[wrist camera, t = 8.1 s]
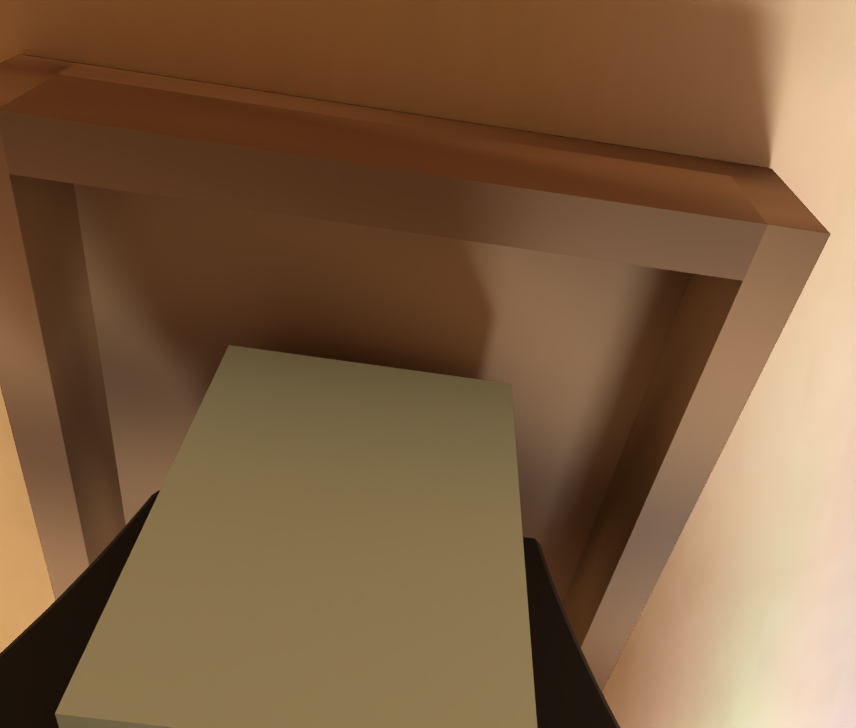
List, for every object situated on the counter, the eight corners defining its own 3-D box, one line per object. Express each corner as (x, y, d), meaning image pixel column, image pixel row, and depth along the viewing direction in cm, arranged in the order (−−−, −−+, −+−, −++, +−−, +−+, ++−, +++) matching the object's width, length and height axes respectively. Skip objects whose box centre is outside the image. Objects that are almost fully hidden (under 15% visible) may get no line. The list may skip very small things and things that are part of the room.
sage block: (464, 565, 14) (462, 939, 10) (233, 536, 14) (110, 901, 9) (510, 384, 12) (540, 769, 7) (229, 344, 12) (55, 712, 7)
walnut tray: (571, 641, 18) (582, 730, 16) (113, 585, 17) (73, 670, 16) (771, 168, 11) (830, 234, 9) (19, 53, 10) (-73, 99, 9)
